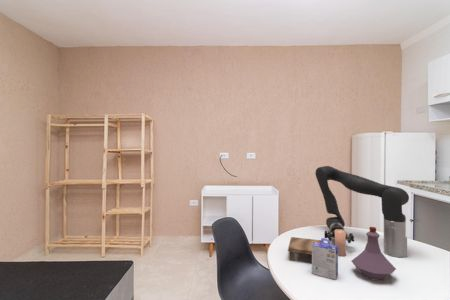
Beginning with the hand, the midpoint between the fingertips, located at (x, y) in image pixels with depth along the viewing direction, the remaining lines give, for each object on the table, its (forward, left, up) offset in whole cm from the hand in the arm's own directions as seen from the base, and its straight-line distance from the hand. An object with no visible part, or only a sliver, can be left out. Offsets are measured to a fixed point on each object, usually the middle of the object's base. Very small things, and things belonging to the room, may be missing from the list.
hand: (339, 240), depth 128 cm
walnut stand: (+16, +9, -7) cm, 20 cm away
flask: (-11, +19, -7) cm, 23 cm away
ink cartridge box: (+8, +25, -7) cm, 27 cm away
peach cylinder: (0, +1, -7) cm, 7 cm away
